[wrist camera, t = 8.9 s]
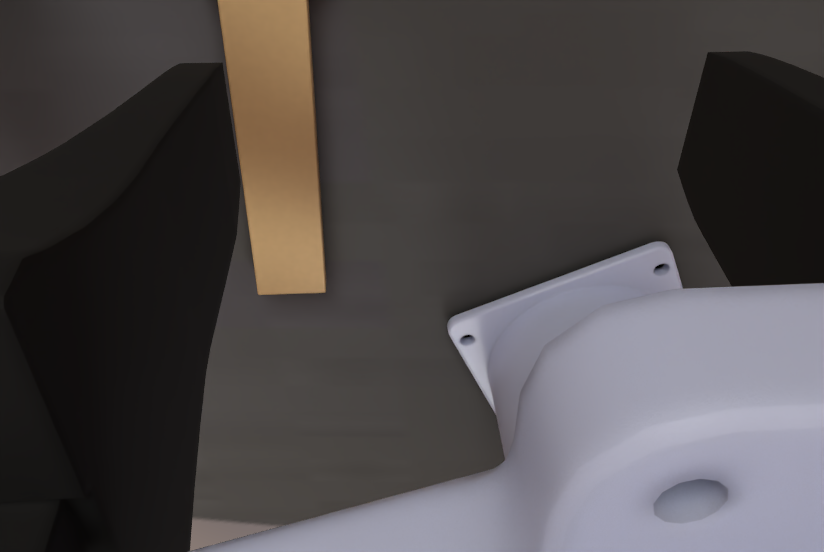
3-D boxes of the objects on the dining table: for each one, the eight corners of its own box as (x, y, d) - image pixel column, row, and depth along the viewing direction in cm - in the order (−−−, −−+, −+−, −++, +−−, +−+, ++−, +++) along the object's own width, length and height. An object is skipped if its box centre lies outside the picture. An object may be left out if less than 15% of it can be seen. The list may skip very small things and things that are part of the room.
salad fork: (368, 276, 26) (368, 291, 26) (216, 281, 26) (213, 297, 26) (354, -454, 15) (354, -457, 14) (83, -462, 15) (72, -466, 14)
